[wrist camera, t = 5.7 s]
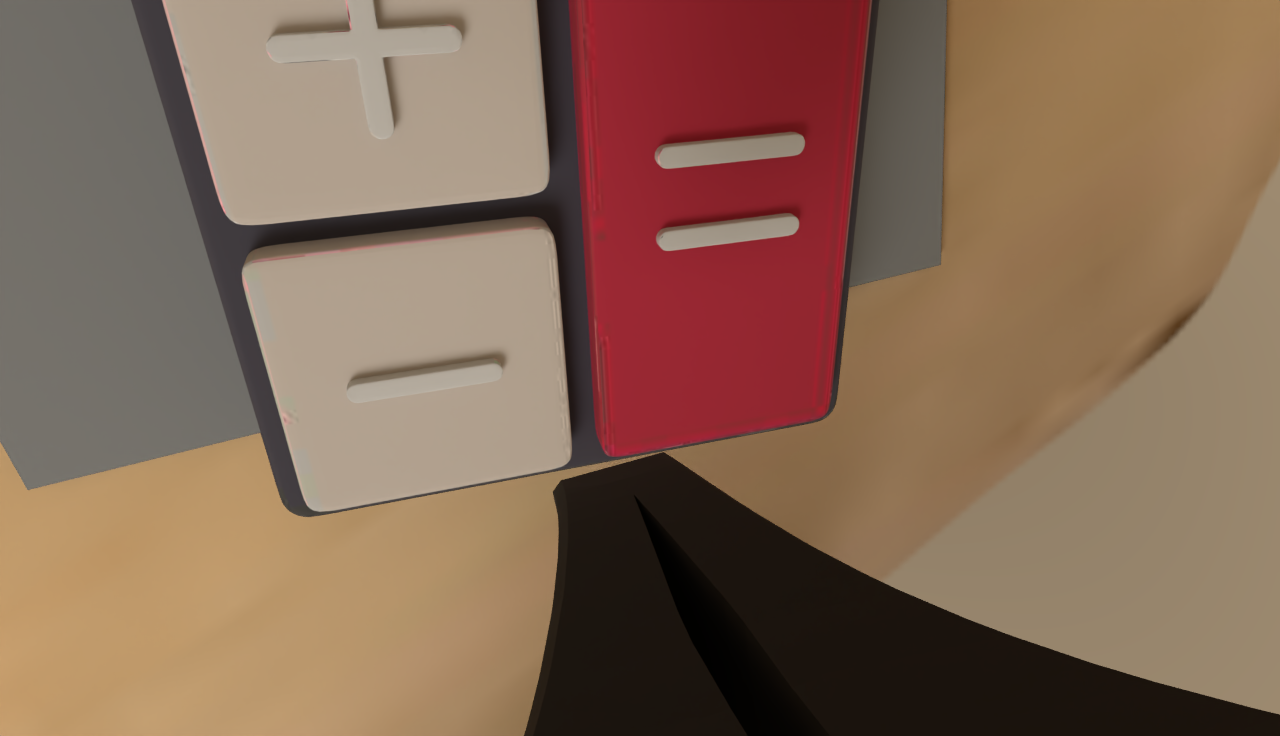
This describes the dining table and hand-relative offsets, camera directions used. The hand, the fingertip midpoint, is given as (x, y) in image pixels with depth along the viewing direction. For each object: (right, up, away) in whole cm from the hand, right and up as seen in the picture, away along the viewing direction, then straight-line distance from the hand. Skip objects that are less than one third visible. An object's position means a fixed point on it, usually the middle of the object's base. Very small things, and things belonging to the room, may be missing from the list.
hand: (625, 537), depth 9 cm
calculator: (-1, 0, +8) cm, 8 cm away
